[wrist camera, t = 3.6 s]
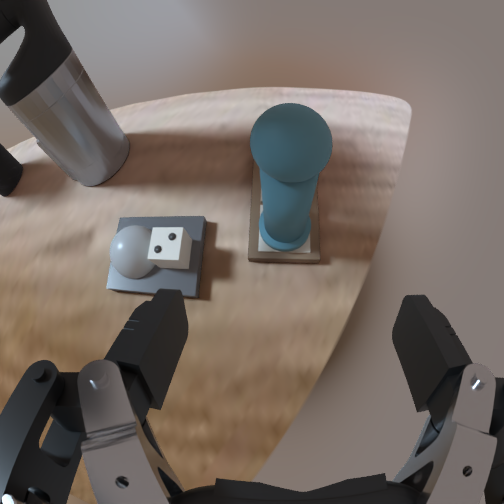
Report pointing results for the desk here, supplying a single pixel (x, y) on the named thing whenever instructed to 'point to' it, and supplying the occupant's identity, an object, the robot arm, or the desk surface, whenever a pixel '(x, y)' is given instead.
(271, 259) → the track board
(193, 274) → the die tray
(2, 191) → the travel mug
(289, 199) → the pawn
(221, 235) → the desk surface
